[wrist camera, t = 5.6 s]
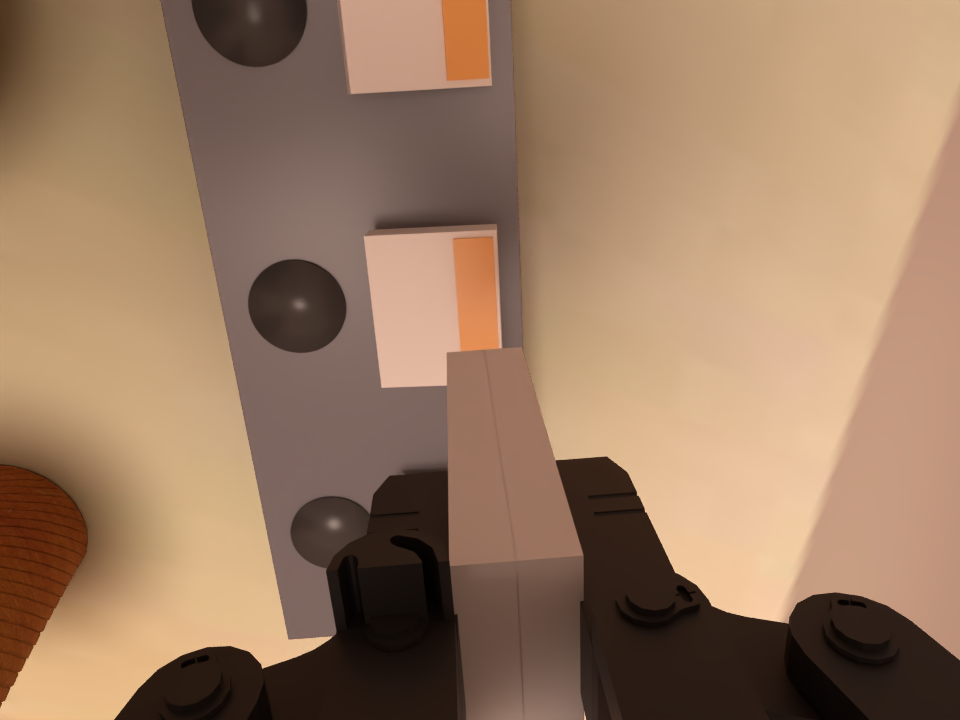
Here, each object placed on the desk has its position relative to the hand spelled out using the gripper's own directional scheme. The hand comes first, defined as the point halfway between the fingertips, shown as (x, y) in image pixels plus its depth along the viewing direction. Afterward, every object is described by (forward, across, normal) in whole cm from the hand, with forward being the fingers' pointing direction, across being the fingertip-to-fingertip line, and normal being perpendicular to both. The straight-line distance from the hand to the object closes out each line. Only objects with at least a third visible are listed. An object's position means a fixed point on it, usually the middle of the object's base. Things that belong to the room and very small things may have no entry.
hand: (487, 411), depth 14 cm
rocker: (+9, -1, +9) cm, 12 cm away
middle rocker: (+9, -1, 0) cm, 9 cm away
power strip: (+13, -3, 0) cm, 14 cm away
